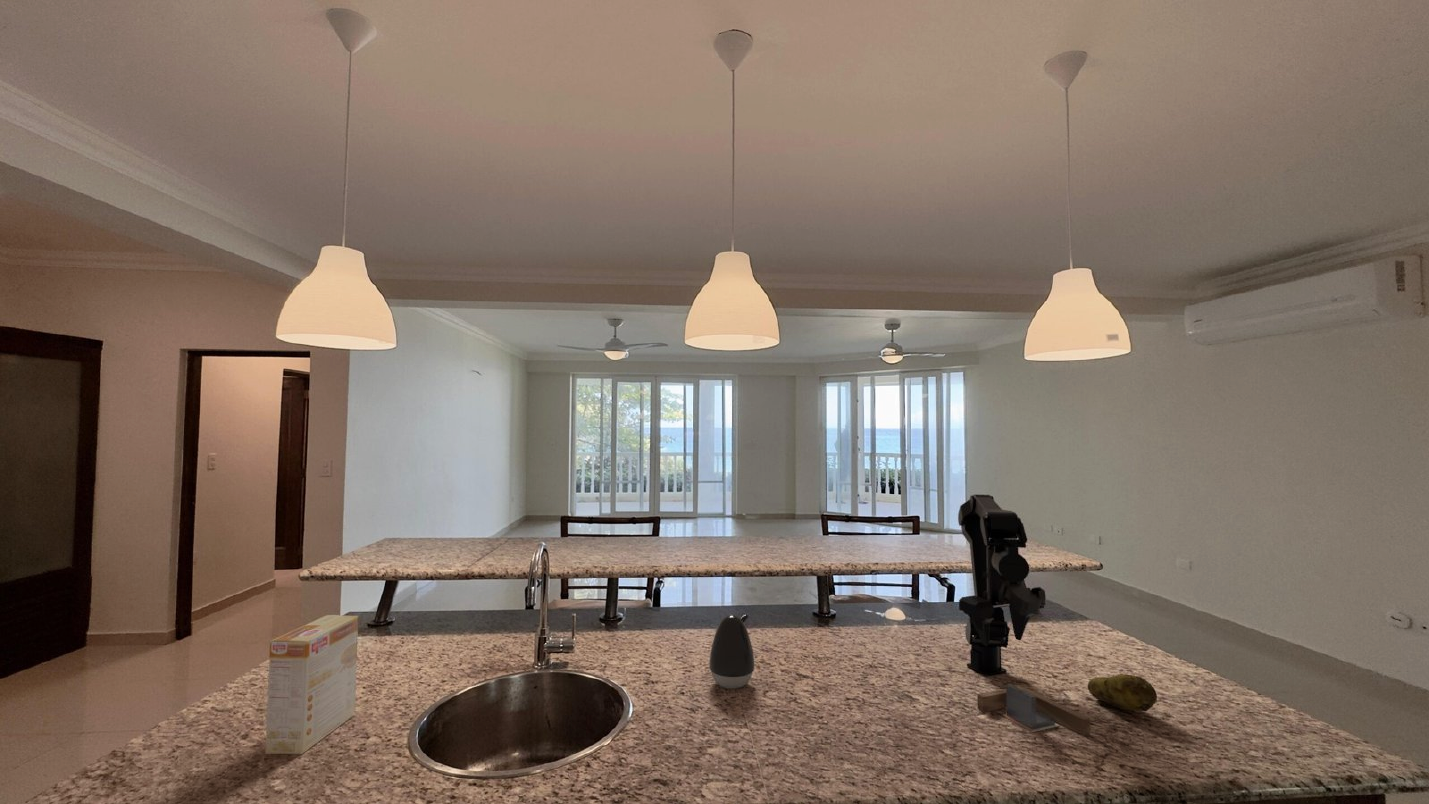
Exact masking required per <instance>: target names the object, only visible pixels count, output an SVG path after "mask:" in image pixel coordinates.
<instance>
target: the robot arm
mask: <svg viewBox="0 0 1429 804" xmlns="http://www.w3.org/2000/svg"><path fill="white" fill-rule="evenodd" d="M957 515H958V516H957V520H958V521H957V522H958V525H959V526H961V527H960V528H961V535H962V536H963V537H964V538H965V539H966V541H967V542H968V544H969V551H970V561H971V571H972V582H973V583H972V584H973V591H974V592H973V593H974V595H968V596H962V597H960V599H958V605H959V606H958V610H959V611H962V612H963V614H965V615H967V616H968V617H969V618H967V622H966V626H965V628H964V632H965V640H966V641H967V643H968V645H970V647H971V649H970V655H969V656H970V662H968V663H966V667H968V668H969V669H970V668H971V669H972V670H974V671H977V672H978V673H980V674H983V675H984V676H991V675H997V674H1005V673H1007V672H1008V670H1007V669H1006V668H1004V667H1002V648H1005V649H1006V648H1008V646H1009V636H1010V631H1011V628H1010V627H1009V625H1008V622H1007V620H1006V619H1005V614H1004V610H1003V608H1005V607H1008V608H1009V609H1008V610H1009V614H1010V620H1011V623H1012V630H1013V635H1014V638H1015V640H1017V641H1022V638H1023V635H1024V633H1025V630H1026V629H1027V624H1028V622H1029V620H1030V617H1032V616H1033V615H1037V614H1038V613H1039V612H1040V611H1041V610H1040V609H1044V608H1045V606H1046V599H1047V598H1046V590H1045V589H1043V588H1042V587H1041V586H1038V587H1037V586H1036V587H1032V588H1030V587H1025V586H1024V585H1023V581H1024V580H1025V579H1026V578H1027V577H1028V575H1029V573H1030V565H1029V563H1028V560H1027V559H1026V558H1025V557H1024V556H1022V555H1021V553H1019V548H1020V549H1022V548H1023V549H1025V548H1026V549H1027V541H1028V537H1027V533H1026V530H1025V526H1024V523H1023V522H1022V520H1021V519H1022V518H1020V517H1019V516H1018V514H1017V513H1016V512H1015V511H1012V510H1005V509H1003V508H1001V506H1000V505H999V504H998V503H997V502H996V501H995V499H994V496H993V495H991V494H972V495H970V496H969V499H968V500H967V501H966V502H964V503H962V504H961V505H960V507H959V510H958V514H957Z"/></svg>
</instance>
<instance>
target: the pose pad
mask: <svg viewBox="0 0 1429 804" xmlns="http://www.w3.org/2000/svg"><path fill="white" fill-rule="evenodd" d="M1002 717H1005V718H1006V719H1008V720H1009V721H1011V722H1013V723H1015V724H1017V725H1019V726H1020V727H1022V728H1024V729H1026V730H1027V731H1029V732H1031V733H1035V732H1040V731H1043V730H1048V729H1053V728H1057V727H1060V725H1059V723H1057V722H1055V725H1051V726H1047V727H1042V728H1037V729H1033V730H1032V729H1030V728H1028V727H1026V726H1024V725H1023V724H1021V723H1019V722H1017V721H1015V720H1014V719H1012V718H1010V717H1008V716H1007V713H1004V714H1002Z"/></svg>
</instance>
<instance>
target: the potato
mask: <svg viewBox="0 0 1429 804" xmlns="http://www.w3.org/2000/svg"><path fill="white" fill-rule="evenodd" d="M1087 690H1088V692H1089V694H1091V695H1092V697H1093V698H1095V699H1096V700H1098V701H1101V702H1102V703H1106V704H1108V705H1110V706H1112V707H1114V708H1116V709H1120V710H1124V711H1139V712H1147V711H1149V710H1150V709H1152V707H1154V705H1155V704H1156V703H1157V701H1158V699H1157V698H1158V695H1157V692H1156V690H1155V688H1154V687H1153V685H1152V684H1151V683H1150V682H1149V681H1147V680H1146V679H1145V678H1142V677H1141V676H1137V675H1132V674H1126V673H1125V674H1118V675H1117V674H1116V675H1113V676H1110V677H1093V678H1091V679H1089V681H1088V682H1087Z"/></svg>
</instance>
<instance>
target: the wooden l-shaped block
mask: <svg viewBox="0 0 1429 804" xmlns="http://www.w3.org/2000/svg"><path fill="white" fill-rule="evenodd" d="M1014 686H1015V687H1018V688H1020V689H1022V690H1024V691H1026V692H1028V693H1030V694H1032V695H1034V696H1036V710H1038V711H1040V712H1042V713H1044V714H1045V715H1047V716H1049V717H1051V718H1053V719H1055V723H1057V724H1060V725H1061V726H1063V727H1066V728H1067V729H1070V730H1071V731H1073V732H1076V733H1078V734H1079V735H1081V736H1083V737H1089V736H1091V719H1090V717H1087V716H1085V715H1083V714H1081V713H1079V712H1077V711H1075V710H1072V709H1070V708H1069V707H1066V706H1064V705H1062V704H1061V703H1058V702H1056V701H1053V700H1052V699H1050V698H1047V697H1046V696H1043V695H1041V694H1039V693H1037V692H1035V691H1033V690H1031V689H1028V688H1027V687H1024V686H1022V685H1020V684H1017V685H1014ZM976 700H977V710H978V711H980V712H982V713H988V712H992V711H996V710H1002V709H1006V688H1003V689H996V690H992V691H987V692H982V693H978V694H977V699H976Z"/></svg>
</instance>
